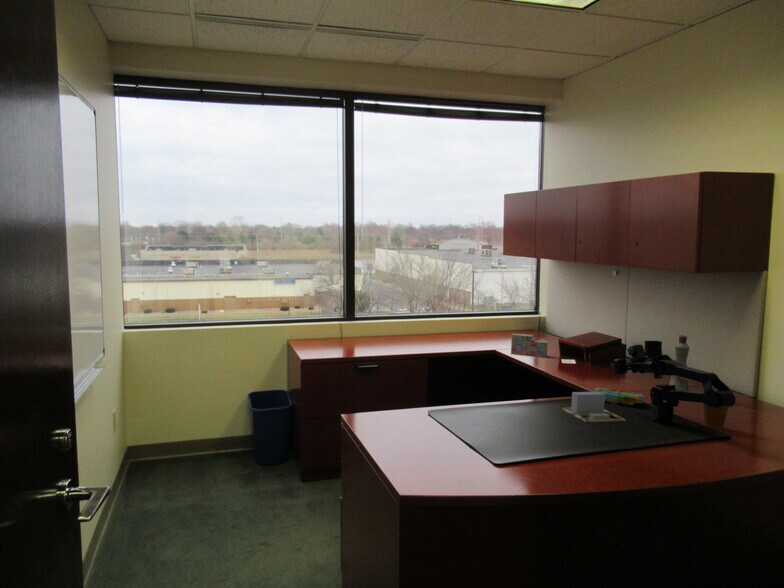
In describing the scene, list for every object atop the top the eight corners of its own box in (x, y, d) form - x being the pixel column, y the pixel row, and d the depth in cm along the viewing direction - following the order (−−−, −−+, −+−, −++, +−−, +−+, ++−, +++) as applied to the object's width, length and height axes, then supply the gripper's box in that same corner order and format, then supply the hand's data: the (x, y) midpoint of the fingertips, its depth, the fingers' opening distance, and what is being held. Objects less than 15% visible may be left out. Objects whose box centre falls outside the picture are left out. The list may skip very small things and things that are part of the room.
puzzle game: (595, 385, 263) (644, 392, 255) (595, 395, 264) (643, 402, 255) (592, 390, 253) (642, 398, 244) (592, 401, 253) (641, 409, 245)
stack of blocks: (546, 356, 356) (548, 336, 355) (546, 358, 350) (548, 337, 349) (511, 352, 363) (512, 333, 361) (510, 354, 357) (511, 334, 355)
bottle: (662, 391, 277) (668, 333, 275) (677, 390, 280) (682, 333, 278) (677, 396, 269) (683, 336, 267) (692, 395, 272) (698, 336, 270)
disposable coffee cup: (713, 431, 217) (716, 399, 216) (693, 423, 226) (696, 393, 225) (733, 430, 219) (737, 399, 218) (713, 422, 228) (716, 392, 227)
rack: (625, 424, 220) (626, 419, 219) (585, 425, 215) (585, 420, 215) (599, 411, 236) (599, 406, 236) (561, 412, 232) (561, 407, 232)
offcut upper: (609, 419, 221) (609, 415, 221) (592, 419, 219) (592, 415, 219) (604, 416, 224) (605, 413, 224) (588, 416, 223) (588, 413, 222)
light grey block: (603, 416, 229) (605, 394, 228) (576, 417, 226) (577, 394, 225) (597, 413, 233) (599, 391, 232) (570, 414, 230) (572, 392, 229)
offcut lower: (613, 424, 221) (613, 419, 221) (589, 425, 219) (590, 420, 219) (607, 421, 225) (607, 416, 225) (584, 422, 223) (584, 416, 222)
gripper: (663, 344, 238) (634, 344, 252) (628, 347, 231) (600, 346, 246) (665, 372, 237) (636, 370, 252) (630, 375, 230) (602, 373, 245)
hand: (619, 364), depth 249 cm, fingers open, 9 cm apart
